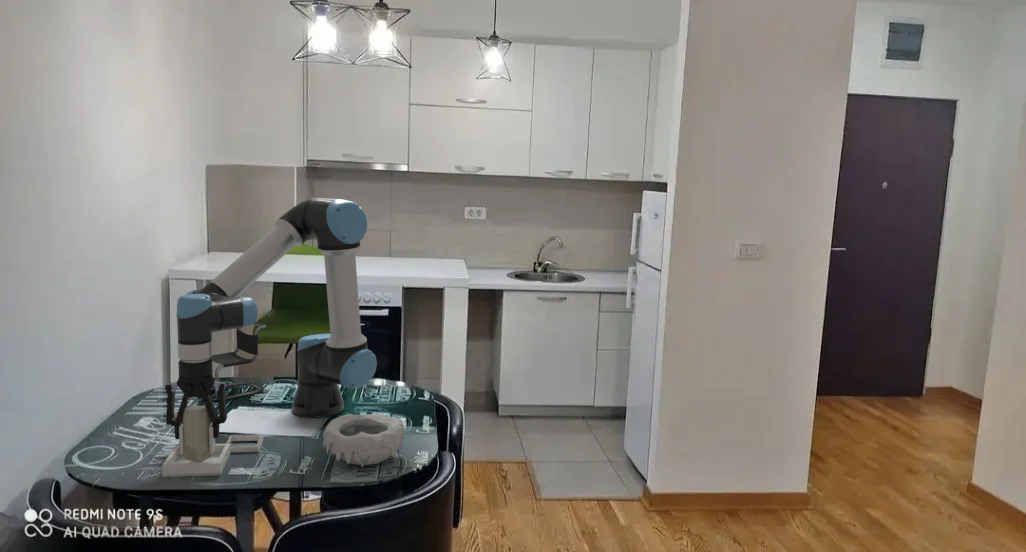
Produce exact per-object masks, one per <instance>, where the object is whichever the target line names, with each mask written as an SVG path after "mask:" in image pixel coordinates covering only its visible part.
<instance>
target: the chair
mask: <svg viewBox="0 0 1026 552" xmlns="http://www.w3.org/2000/svg"><path fill="white" fill-rule="evenodd" d="M253 325H254V326H257V328H256V329H255V331H254V335H253V334H247V333H246V332H243V331H242V328H236V349H235V351H230V352H229V351H228V352H224V353H219V354H212V356H211V357H210V358H211V359H212V363H216V364H219V365H218V366H217V367H216V369H215V370H214V379H215V381H218V382H220V381H219V380H220V379H219V373H220V370H221V369H223V368H229V367H234V366H240V365H246V364H251V363H253V362H255V361H256V360H257V359H258V356H259V332H260V331H261V330H263V329H264V330H265V329H266V328H267V326H266V324H263V323H260V322H258V321H256V322H255V323H254V324H253ZM240 351H243V352H245V353H247V354H250V355H253V357H251V358H245V357H242V356H240V355H238V353H239V352H240ZM242 385H249V386H252V387H253V388H256V390H255V389H254V390H251V391H246V392H240V393H236V394H230V395H225V401H227V400H232V399H236V398H241V397H246V396H251V395H256V394H261V393H263V392H264V391H265V388H264V387H263V386H262V385H259V384H257V383H256V382H252V381H249V380H247V381H245V380H242V381H238V382H232V383H226V387H225V389H226V388H232V387H237V386H242ZM211 391H214V394H215V397H216V399H218V391H216V389H215V386H212V388H211V389H210V390H209V392H211Z"/></svg>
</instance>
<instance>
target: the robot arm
mask: <svg viewBox="0 0 1026 552" xmlns="http://www.w3.org/2000/svg"><path fill="white" fill-rule="evenodd" d="M367 219H368V218H367V216H366V213H365V211H364V210H363V208H362V207H361V206H360V205H359V204H358V203H356V202H353V201H351V200H347V199H343V198H342V199H341V198H328V197H327V198H324V197H311V198H307V199H305V200H303V201H301V202H298V204H296V205H295V206H292V208H290V209H288V210H287V211H286V212H285V213H283V214H282V215H281V216H280V217H279V218H278V219H276V221H274V222H275V223H274V227H273V228H272V229H270V231H268V232H267V233H266V234H264V235H263V236H262V237H261V238H260V239H259V240H258V241H256V243H254V244H253V245H251V246H250V247H249V248H248V249H247V250H246V251H245V252H243V253H242V254H241V255H240V256H239V257H238V258H237V259H235V260H234V261H233V262H232V263H230V264H229V265H228V266H227V267H226V268H224V270H222V271H221V272H220V273H219V274H218V275H217V276H215V277H214V278H213V279H212V280H211V281H210V282H209V283H207V284H206V285H205V286H204V287H202V288H201V289H191V290H189V291H188V292H187V293H185V294H183V295H181V296H179V297H178V298H177V303H176V314H175V316H176V321H177V323H176V326H177V327H176V328H177V358H178V359H179V361H178V363H177V364H178V365H177V366H178V379H177V381H174V382H171V381H170V382H168V383H167V384H166V385H165V386H164V389H165V392H166V394H167V395H166V397H167V398H166V412H165V414H166V415H165V423H166V425H168V426H169V425H170V426H173V427H174V439H175V440H179V441H178V443H179V442H180V453H184V438H183V424H181V423H182V420H183V413H184V410H185V409H186V408H188V404H189V401H190V399H191V398H201V400H202V402H203V404H204V407H206V409H207V411H208V414H209V417H210V419H211V425H210V426H209V435H210V452H214V450H215V444H216V439H218V438H219V436H220V425H221V424H224V423H226V421H227V419H228V413H227V402H226V401H227V400H225V396H226V393H225V390H226V388H225V387H226V384H227V382H226V381H225V380H223V381H219V382H218V381H215V377H214V376H213V373H214V372H213V361H212V359H211V358H210V357H211V356H212V355H213V339H212V338H213V337H212V336H213V334H212V333H216V332H220V331H221V332H222V331H229V330H234V329H237V328H241V329H243V328H246V327H250V326H253V325H254V323H255V322H257V320H258V317H259V313H258V312H259V309H258V305H257V304H256V303H257V302H256V301H255V300H254V299H253V298H252V297H250V296H240V295H241V294H243V292H245V291H246V290H247V289H248V288H249V287H250V286H251V285H252V284H253V283H255V282H256V280H258V279H259V278H260V277H262V276H263V275H264V274H265V273H266V272H267V271H269V269H271V268H272V267H273V266H274V265H275V264H277V262H278V261H280V260H281V259H282V258H283V257H284V256H285V255H286V254H288V253H289V252H290V251H291V250H292V249H293V248H294V247H295V248H300V247H302V245H304V244H305V243H306V242H308V241H310V240H313V239H314V240H315V239H316V242H317V250H318V251H319V252H320V253H321V254H322V255H323V257H324V269H325V270H324V272H325V283H326V293H327V294H326V295H327V308H328V320H329V332H330V333H317V334H310V335H306V336H303V337H300V338H299V340H298V344H297V349H296V350H297V381H298V382H297V388H296V390H295V394H294V397H293V400H292V403H291V404H292V405H291V412H292V413H293V414H294V415H296V416H299V417H304V418H323V417H324V418H325V417H331V416H335V415H337V414H340V413H342V412H343V410H344V409H345V407H344V406H345V405H344V403H345V402H344V399H343V396H342V393H341V390H340V388H339V385H340V386H342V387H345V388H351V389H360V388H362V387H365V386H366V385H367V384H368V383H369V382H370V381H371V380H372V378H373V377H374V375H375V373H376V370H377V365H378V363H377V356H376V354H375V353H373V351H372V350H370V349H369V348H368V340H367V337H366V336H365V335H364V334H362V329H361V314H360V299H359V287H358V275H357V274H358V273H357V257H356V252H357V251H358V250H359V249H360V247H361V241H362V240H363V239H364V237H365V234H366V233H367V230H368V220H367ZM212 387H215V389H216V391H218V398H217V403H218V411H219V412H217V410H216V408H215V405H214V402H213V400H212V396H211V391H209V390H210V389H211V388H212ZM178 388H179V390H180V391H181V392H182V393H183V394H182V395H183V396H182V398H181V402H180V405H179V409H178V410H177V412H178V414H177V417H176V419H175V418H174V415H175V404H176V403H175V401H176V391H177V390H178ZM218 413H219V415H218Z"/></svg>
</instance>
